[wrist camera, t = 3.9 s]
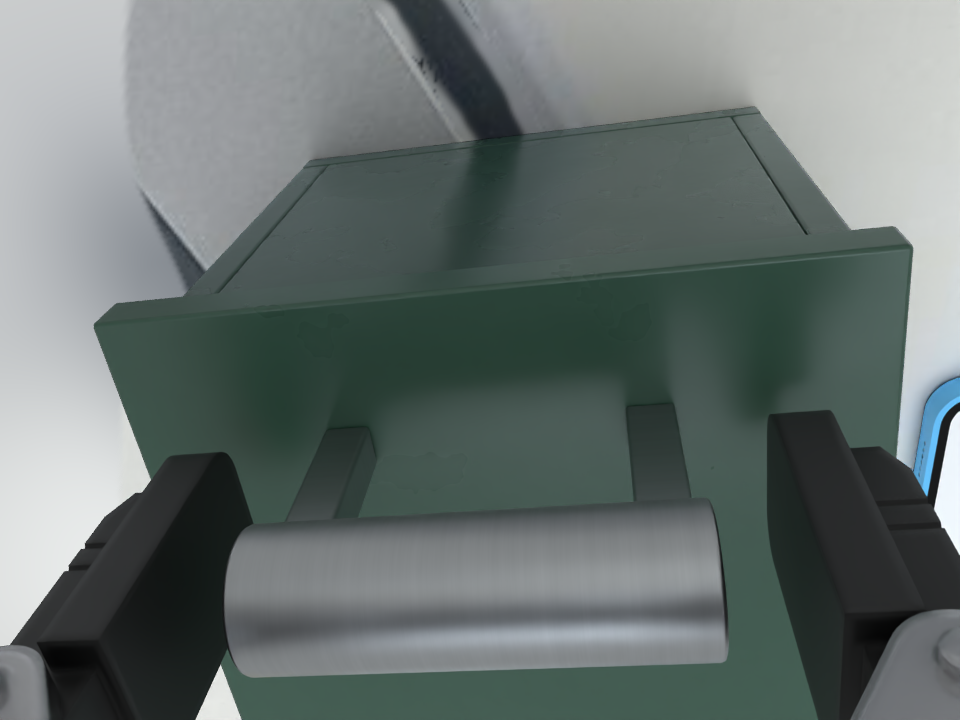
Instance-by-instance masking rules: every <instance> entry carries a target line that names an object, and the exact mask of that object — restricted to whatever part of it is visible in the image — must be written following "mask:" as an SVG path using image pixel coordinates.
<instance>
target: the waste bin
mask: <svg viewBox="0 0 960 720" xmlns="http://www.w3.org/2000/svg"><path fill="white" fill-rule="evenodd" d="M850 230H851V229H850V228H849V227H848V225H847V224H846V223H845V222H844V220H843V219H842V218H841V216H840V215H839V214H838V213H837V211H836V210H835V209H834V207H833V206H832V205H831V204H830V202H829V201H828V200H827V198H826V197H825V196H824V195H823V193H822V192H821V191H820V189H819V188H818V187H817V186H816V184H815V183H814V182H813V180H812V179H811V178H810V177H809V175H808V174H807V173H806V171H805V170H804V169H803V167H802V166H801V165H800V164H799V162H798V161H797V160H796V158H795V157H794V156H793V155H792V153H791V152H790V151H789V149H788V148H787V147H786V146H785V144H784V143H783V142H782V140H781V139H780V138H779V137H778V135H777V134H776V133H775V131H774V130H773V129H772V128H771V126H770V125H769V124H768V122H767V121H766V120H765V119H764V117H763V116H762V115H761V113H760V111H759V110H758V109H757V108H756V107H749V108H741V109H732V110H724V111H716V112H708V113H699V114H691V115H683V116H674V117H666V118H658V119H650V120H641V121H633V122H625V123H617V124H608V125H600V126H592V127H583V128H575V129H567V130H559V131H550V132H542V133H534V134H526V135H517V136H509V137H501V138H492V139H484V140H476V141H468V142H459V143H451V144H443V145H435V146H426V147H418V148H410V149H401V150H393V151H385V152H377V153H368V154H360V155H352V156H344V157H335V158H327V159H319V160H311V161H309V162H308V163H307V164H306V165H305V166H304V167H303V169H302V170H301V171H300V172H299V173H298V174H297V175H296V176H295V177H294V178H293V180H292V181H291V182H290V183H289V184H288V185H287V186H286V187H285V188H284V189H283V190H282V191H281V192H280V193H279V194H278V196H277V197H276V198H275V199H274V200H273V201H272V202H271V203H270V204H269V205H268V206H267V207H266V208H265V209H264V210H263V212H262V213H261V214H260V215H259V216H258V217H257V218H256V219H255V220H254V221H253V222H252V223H251V224H250V225H249V226H248V228H247V229H246V230H245V231H244V232H243V233H242V234H241V235H240V236H239V237H238V238H237V239H236V240H235V241H234V242H233V244H232V245H231V246H230V247H229V248H228V249H227V250H226V251H225V252H224V253H223V254H222V255H221V256H220V257H219V258H218V259H217V261H216V262H215V263H214V264H213V265H212V266H211V267H210V268H209V269H208V270H207V271H206V272H205V273H204V274H203V275H202V277H201V278H200V279H199V280H198V281H197V282H196V283H195V284H194V285H193V286H192V287H191V288H190V289H189V290H188V291H187V293H186V294H185V295H184V296H183V297H186V296H196V295H206V294H216V293H226V292H236V291H246V290H256V289H266V288H276V287H286V286H296V285H306V284H316V283H326V282H337V281H347V280H357V279H367V278H377V277H387V276H397V275H407V274H417V273H427V272H437V271H447V270H457V269H467V268H477V267H487V266H497V265H508V264H518V263H528V262H538V261H548V260H558V259H568V258H578V257H588V256H598V255H608V254H618V253H628V252H638V251H648V250H658V249H668V248H679V247H689V246H699V245H709V244H719V243H729V242H739V241H749V240H759V239H769V238H779V237H789V236H799V235H809V234H819V233H829V232H839V231H850Z"/></svg>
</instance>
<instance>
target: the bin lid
mask: <svg viewBox="0 0 960 720" xmlns="http://www.w3.org/2000/svg"><path fill="white" fill-rule="evenodd" d="M912 259H913V246H912V244H911V243H910V242H909V241H908V240H907V239H906V238H905V237H904V236H903V235H902V233H901V232H900V231H899V230H898V229H897V228H896V227H893V226H890V227H880V228H870V229H860V230H850V231H839V232H829V233H819V234H809V235H799V236H789V237H779V238H769V239H759V240H749V241H739V242H729V243H719V244H709V245H699V246H689V247H679V248H668V249H658V250H648V251H638V252H628V253H618V254H608V255H598V256H588V257H578V258H568V259H558V260H548V261H538V262H528V263H518V264H508V265H497V266H487V267H477V268H467V269H457V270H447V271H437V272H427V273H417V274H407V275H397V276H387V277H377V278H367V279H357V280H347V281H337V282H326V283H316V284H306V285H296V286H286V287H276V288H266V289H256V290H246V291H236V292H226V293H216V294H206V295H196V296H186V297H177V298H166V299H155V300H147V301H146V300H145V301H135V302H125V303H117V304H115V305H114V306H113V307H112V308H110V309H109V310H108V311H107V312H106V313H105V314H104V315H103V316H102V317H101V318H100V319H99V320H98V321H97V322H95V323H94V330H95V333H96V335H97V338H98V340H99V343H100V346H101V348H102V351H103V354H104V356H105V359H106V362H107V364H108V367H109V370H110V372H111V375H112V378H113V380H114V383H115V385H116V388H117V391H118V393H119V396H120V399H121V401H122V404H123V407H124V409H125V412H126V415H127V417H128V420H129V423H130V425H131V428H132V430H133V433H134V436H135V438H136V441H137V444H138V446H139V449H140V452H141V454H142V457H143V460H144V462H145V465H146V468H147V470H148V473H149V475H150V478H151V480H152V478H153V477H154V475H155V474H156V473H157V471H158V470H159V468H160V467H161V465H162V464H163V463H164V461H165V460H166V459H167V458H168V457H170V456H172V455H184V454H198V453H212V452H225V453H227V454H228V455H229V456H230V458H231V459H232V461H233V463H234V465H235V468H236V471H237V474H238V477H239V480H240V483H241V486H242V489H243V492H244V495H245V499H246V502H247V505H248V508H249V511H250V514H251V517H252V520H253V523H254V524H252V525H250V526H248V527H246V528H245V529H244V530H243V531H242V532H241V533H240V534H239V535H238V537H237V539H236V540H235V542H234V544H233V546H232V549H231V552H230V554H229V557H228V561H227V565H226V570H225V575H224V582H223V592H222V619H223V629H224V635H225V640H226V645H227V648H228V649H227V651H226V653H225V656H224V658H223V660H222V662H221V666H222V669H223V671H224V674H225V677H226V679H227V682H228V685H229V687H230V690H231V693H232V695H233V698H234V700H235V703H236V706H237V708H238V711H239V714H240V716H241V719H242V720H818V717H817V714H816V710H815V707H814V703H813V700H812V696H811V692H810V689H809V685H808V682H807V678H806V675H805V671H804V668H803V664H802V661H801V657H800V654H799V650H798V647H797V643H796V640H795V636H794V633H793V629H792V626H791V622H790V619H789V615H788V612H787V608H786V605H785V601H784V598H783V594H782V591H781V587H780V584H779V580H778V577H777V573H776V569H775V566H774V562H773V558H772V554H771V548H770V542H769V534H768V524H767V422H768V417H769V415H770V414H777V413H791V412H805V411H819V410H831V411H832V412H833V414H834V416H835V418H836V420H837V422H838V424H839V426H840V428H841V430H842V433H843V435H844V437H845V439H846V441H847V443H848V445H849V447H850V448H859V447H875V446H880V447H882V448H883V449H884V450H886V451H887V452H888V453H890V454H891V455H893V456H894V457H895V458H896V455H897V443H898V431H899V419H900V406H901V394H902V382H903V369H904V357H905V345H906V332H907V320H908V308H909V296H910V283H911V271H912Z"/></svg>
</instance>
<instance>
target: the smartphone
mask: <svg viewBox="0 0 960 720" xmlns="http://www.w3.org/2000/svg"><path fill="white" fill-rule="evenodd" d="M914 475H915V476H916V478H917V480H918V482H919V484H920V485H921V487H922V489H923V491H924V492H925V494H926V496H927V498H928V504H931V505H932V507H933V508H934V510H935V512H936V514H937V516H938V517H939V519H940V521H941V527H942V528H945V530H946V532H947V533H948V535H949V537H950V539H951V540H952V542H953V544H954V546H955V548H956V549H957V551H958V553H959V555H960V377H959V378H956V379H953V380H951V381H948V382H947V383H945V384H943V385H942V386H940V387H939V388H938V389H937V390H936V391H935V392H934V393H933V394H932V395H931V396H930V398H929V399H928V401H927V403H926V406H925V410H924V415H923V421H922V427H921V433H920V438H919V444H918V450H917V456H916V461H915V467H914Z"/></svg>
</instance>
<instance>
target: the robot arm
mask: <svg viewBox="0 0 960 720" xmlns="http://www.w3.org/2000/svg"><path fill="white" fill-rule="evenodd" d="M252 524H254V523H253V520H252V517H251V514H250V511H249V508H248V505H247V502H246V499H245V495H244V492H243V489H242V486H241V483H240V480H239V477H238V474H237V471H236V468H235V465H234V463H233V461H232V459H231V458H230V456H229V455H228V454H227V453H225V452H212V453H198V454H184V455H172V456H170V457H168V458H167V459H166V460H165V461H164V463H163V464H162V465H161V467H160V468H159V470H158V471H157V473H156V474H155V475H154V477H153V478H152V480H151V481H150V482H149V484H148V485H147V487H146V488H145V489H144V491H143V492H142V493H135V494H134V495H132V496H131V497H130V498H129V499H127V500H126V501H125V502H123V503H122V504H121V505H120V506H118V507H117V508H116V509H114V510H113V511H112V512H111V513H109V514H108V515H107V516H106V517H104V519H103V520H102V521H101V523H100V524H99V525H98V527H97V528H96V529H95V531H94V532H93V533H92V535H91V536H90V538H89V539H88V540H87V541H86V543H85V549H81V550H80V551H79V552H78V554H77V555H76V556H75V558H74V559H73V560H72V562H71V563H70V564H69V571H65V572H64V573H63V574H62V575H61V577H60V578H59V579H58V581H57V582H56V584H55V585H54V586H53V587H52V589H51V590H50V592H49V593H48V594H47V596H46V597H45V598H44V600H43V601H42V602H41V604H40V605H39V607H38V608H37V609H36V611H35V612H34V613H33V614H32V616H31V617H30V619H29V620H28V621H27V623H26V624H25V625H24V627H23V628H22V629H21V631H20V632H19V633H18V635H17V636H16V637H15V639H14V640H13V641H12V643H11V644H10V645H7V646H0V720H195V719H196V717H197V715H198V713H199V710H200V708H201V706H202V704H203V702H204V700H205V697H206V695H207V693H208V691H209V689H210V686H211V684H212V682H213V680H214V678H215V675H216V673H217V671H218V669H219V667H220V664H221V662H222V660H223V658H224V656H225V653H226V651H227V649H228V648H227V645H226V640H225V635H224V629H223V619H222V592H223V582H224V575H225V570H226V565H227V561H228V557H229V554H230V552H231V549H232V546H233V544H234V542H235V540H236V539H237V537H238V535H239V534H240V533H241V532H242V531H243V530H244V529H245V528H246V527H248V526H250V525H252ZM767 524H768V534H769V542H770V548H771V554H772V558H773V562H774V566H775V569H776V573H777V577H778V580H779V584H780V587H781V591H782V594H783V598H784V601H785V605H786V608H787V612H788V615H789V619H790V622H791V626H792V629H793V633H794V636H795V640H796V643H797V647H798V650H799V654H800V657H801V661H802V664H803V668H804V671H805V675H806V678H807V682H808V685H809V689H810V692H811V696H812V700H813V703H814V707H815V710H816V714H817V717H818V720H960V555H959V553H958V551H957V549H956V548H955V546H954V544H953V542H952V540H951V539H950V537H949V535H948V533H947V532H946V530H945V528H942V527H941V521H940V519H939V517H938V516H937V514H936V512H935V510H934V508H933V507H932V505H931V504H928V498H927V496H926V494H925V492H924V491H923V489H922V487H921V485H920V484H919V482H918V480H917V478H916V476H915V475H914V473H913V471H912V469H910V468H909V467H907V466H906V465H905V464H903V463H902V462H901V461H899V460H898V459H897V458H895V457H894V456H893V455H891V454H890V453H888V452H887V451H886V450H884V449H883V448H882V447H880V446H875V447H859V448H850V447H849V445H848V443H847V441H846V439H845V437H844V435H843V433H842V430H841V428H840V426H839V424H838V422H837V420H836V418H835V416H834V414H833V412H832V411H831V410H819V411H805V412H791V413H777V414H770V415H769V417H768V422H767Z"/></svg>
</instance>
